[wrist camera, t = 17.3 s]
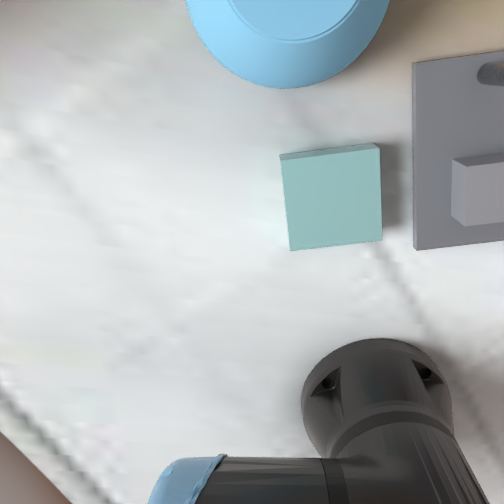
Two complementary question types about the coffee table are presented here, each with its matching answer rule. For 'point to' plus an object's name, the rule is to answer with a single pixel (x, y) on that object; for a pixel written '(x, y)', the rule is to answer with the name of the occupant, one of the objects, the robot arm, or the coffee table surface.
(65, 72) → the coffee table surface
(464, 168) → the grey base plate
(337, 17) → the sugar bowl
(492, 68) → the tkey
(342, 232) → the lid
